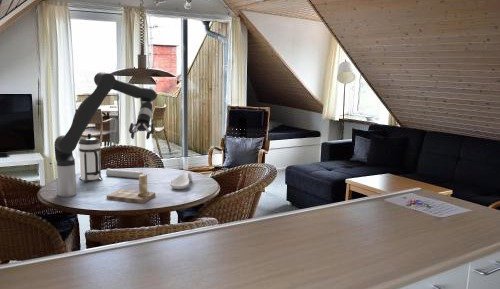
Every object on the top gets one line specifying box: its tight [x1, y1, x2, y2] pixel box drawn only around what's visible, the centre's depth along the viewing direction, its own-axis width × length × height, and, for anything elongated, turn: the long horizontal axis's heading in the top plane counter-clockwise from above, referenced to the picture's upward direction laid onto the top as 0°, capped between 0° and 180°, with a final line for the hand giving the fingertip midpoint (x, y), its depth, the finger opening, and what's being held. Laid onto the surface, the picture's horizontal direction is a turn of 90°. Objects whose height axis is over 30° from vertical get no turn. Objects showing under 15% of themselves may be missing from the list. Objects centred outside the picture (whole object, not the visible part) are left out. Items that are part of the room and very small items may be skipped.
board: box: [106, 188, 156, 204], centre depth 230 cm, size 22×14×2 cm, turn 75°
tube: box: [105, 167, 144, 180], centre depth 274 cm, size 5×5×25 cm
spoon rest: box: [169, 172, 193, 191], centre depth 257 cm, size 24×12×7 cm, turn 170°
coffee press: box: [78, 133, 104, 184], centre depth 261 cm, size 17×16×30 cm
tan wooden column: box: [138, 174, 150, 196], centre depth 229 cm, size 5×5×11 cm
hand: (139, 138), depth 242 cm, fingers open, 8 cm apart
